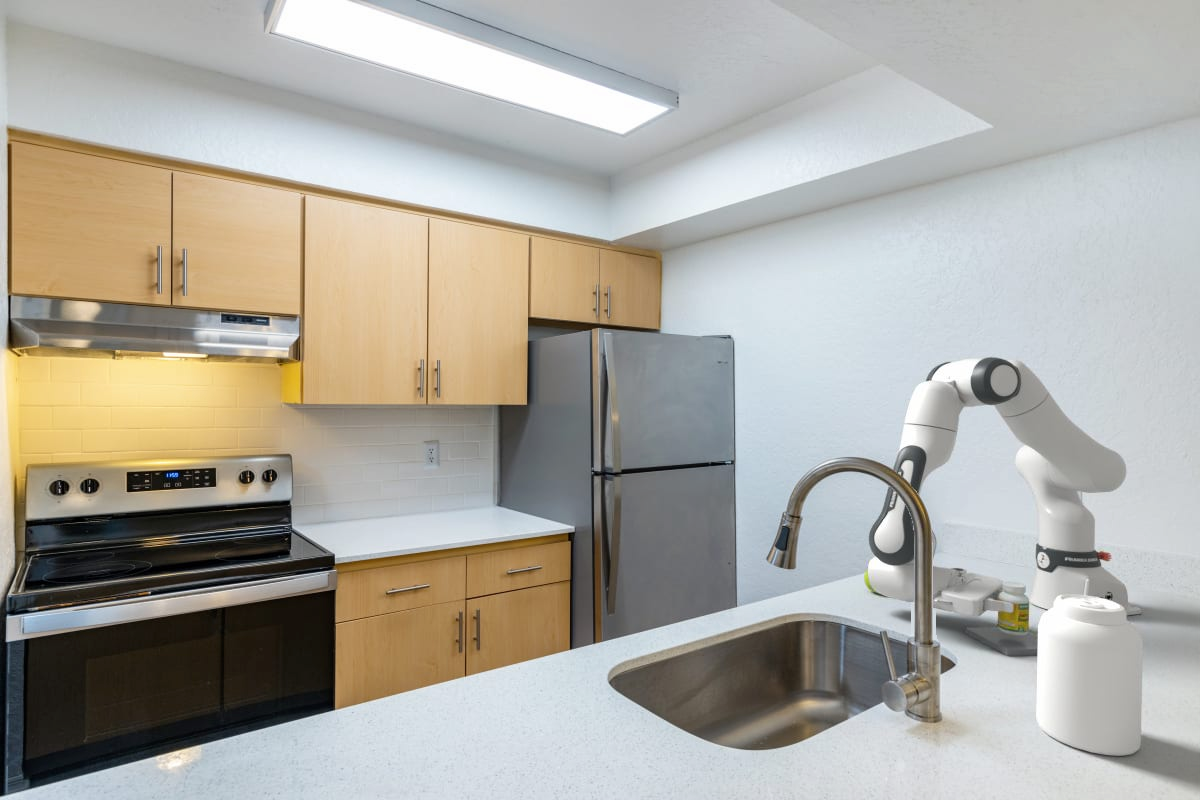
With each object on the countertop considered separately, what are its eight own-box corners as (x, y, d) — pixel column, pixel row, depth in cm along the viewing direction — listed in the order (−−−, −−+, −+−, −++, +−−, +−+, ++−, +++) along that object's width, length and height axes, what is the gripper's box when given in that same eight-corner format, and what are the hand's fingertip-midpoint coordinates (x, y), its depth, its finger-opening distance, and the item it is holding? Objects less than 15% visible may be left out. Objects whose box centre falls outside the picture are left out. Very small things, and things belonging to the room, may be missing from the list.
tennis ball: (900, 596, 167) (900, 568, 167) (875, 597, 165) (876, 569, 165) (882, 588, 174) (882, 561, 174) (858, 589, 172) (858, 562, 172)
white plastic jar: (1147, 768, 91) (1150, 620, 90) (1036, 741, 97) (1039, 604, 97) (1134, 729, 101) (1137, 597, 101) (1035, 707, 108) (1037, 583, 108)
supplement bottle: (1005, 624, 140) (1006, 578, 139) (1033, 633, 135) (1034, 585, 135) (992, 629, 137) (993, 582, 136) (1020, 638, 132) (1021, 589, 132)
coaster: (1018, 631, 143) (1018, 626, 143) (1064, 653, 131) (1064, 647, 131) (966, 633, 141) (966, 627, 141) (1007, 656, 129) (1007, 649, 129)
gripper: (927, 583, 138) (1004, 599, 128) (961, 566, 152) (1032, 579, 142) (927, 614, 138) (1003, 632, 128) (960, 594, 152) (1031, 608, 142)
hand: (1018, 604), depth 135 cm, fingers closed on supplement bottle, 5 cm apart
